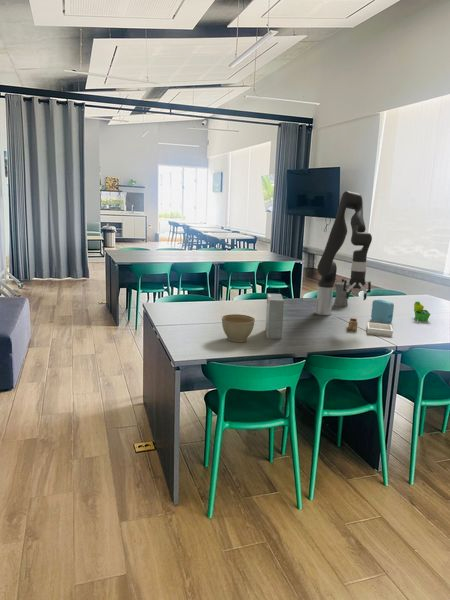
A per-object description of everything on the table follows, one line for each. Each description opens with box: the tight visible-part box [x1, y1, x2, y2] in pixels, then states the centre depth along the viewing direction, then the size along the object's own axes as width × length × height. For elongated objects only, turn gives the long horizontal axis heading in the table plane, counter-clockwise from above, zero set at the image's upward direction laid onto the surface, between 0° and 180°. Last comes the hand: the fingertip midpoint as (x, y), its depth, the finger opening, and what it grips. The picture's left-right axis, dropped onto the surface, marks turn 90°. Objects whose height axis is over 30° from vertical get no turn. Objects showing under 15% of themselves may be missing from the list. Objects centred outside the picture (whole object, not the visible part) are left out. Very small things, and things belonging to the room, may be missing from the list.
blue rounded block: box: [370, 299, 395, 324], centre depth 270 cm, size 12×4×12 cm, turn 32°
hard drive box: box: [265, 293, 285, 340], centre depth 234 cm, size 16×8×20 cm, turn 178°
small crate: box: [347, 317, 359, 332], centre depth 251 cm, size 5×8×5 cm, turn 164°
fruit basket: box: [413, 300, 431, 323], centre depth 277 cm, size 11×9×11 cm
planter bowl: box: [221, 313, 256, 343], centre depth 224 cm, size 16×16×11 cm
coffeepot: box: [333, 278, 353, 308], centre depth 308 cm, size 15×9×18 cm, turn 115°
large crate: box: [366, 321, 394, 337], centre depth 247 cm, size 13×14×3 cm
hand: (355, 299), depth 248 cm, fingers open, 8 cm apart
